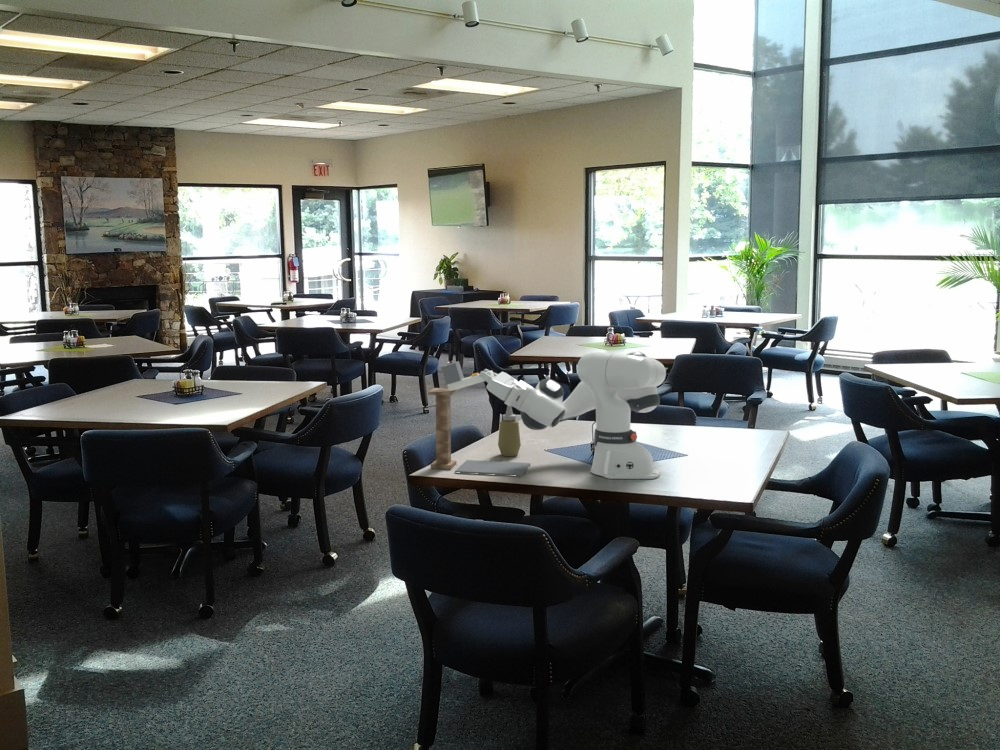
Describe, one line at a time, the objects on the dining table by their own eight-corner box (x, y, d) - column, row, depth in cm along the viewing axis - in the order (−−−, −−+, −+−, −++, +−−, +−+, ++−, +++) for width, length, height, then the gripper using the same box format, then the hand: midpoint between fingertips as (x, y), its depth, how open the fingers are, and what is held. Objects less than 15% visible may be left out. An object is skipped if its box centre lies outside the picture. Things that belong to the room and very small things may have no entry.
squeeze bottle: (501, 458, 325) (501, 407, 322) (495, 453, 333) (495, 403, 330) (523, 456, 327) (523, 406, 325) (517, 451, 335) (517, 402, 332)
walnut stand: (458, 464, 315) (457, 388, 312) (452, 470, 308) (451, 392, 304) (435, 463, 317) (434, 387, 313) (428, 468, 309) (427, 391, 306)
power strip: (494, 377, 307) (487, 352, 306) (491, 379, 302) (483, 354, 301) (452, 389, 310) (444, 365, 309) (449, 391, 305) (441, 367, 304)
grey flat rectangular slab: (530, 465, 314) (530, 462, 314) (521, 476, 299) (521, 474, 299) (466, 462, 319) (466, 459, 319) (454, 473, 303) (454, 470, 303)
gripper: (528, 381, 313) (493, 360, 314) (517, 390, 293) (480, 367, 294) (518, 397, 314) (484, 375, 315) (507, 407, 294) (470, 384, 295)
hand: (482, 371), depth 305 cm, fingers closed on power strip, 4 cm apart
